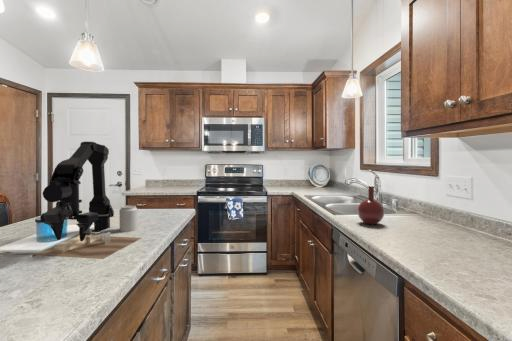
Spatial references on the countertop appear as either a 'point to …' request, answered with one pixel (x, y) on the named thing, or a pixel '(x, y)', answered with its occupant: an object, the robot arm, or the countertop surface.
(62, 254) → the base board
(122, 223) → the can
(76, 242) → the link
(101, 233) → the keeper
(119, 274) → the countertop surface
